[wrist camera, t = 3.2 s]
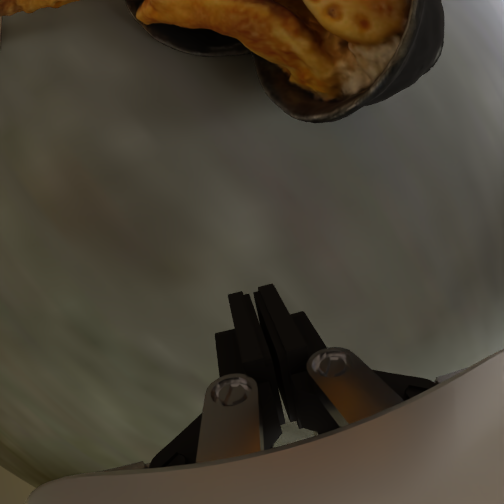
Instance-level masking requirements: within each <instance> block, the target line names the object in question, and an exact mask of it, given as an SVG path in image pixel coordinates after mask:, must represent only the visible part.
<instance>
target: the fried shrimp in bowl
mask: <svg viewBox="0 0 504 504" xmlns="http://www.w3.org/2000/svg"><path fill="white" fill-rule="evenodd" d="M75 1H79V0H0V17H1V16H11V15H13V14H15V13H17V12H21V11H24V12H26V13H33V12H35V11H36V10H38V9H40V8H46V7H52V8H59V7H61V6H63V5H65V4H68V3H70V2H75ZM125 1H126V4H127V7H128V10H129V11H130V13H131V14H132V16H133V17H134V19H135V20H136V21H137V22H138V23H139V24H140V25H141V26H143V28H144V29H145V30H146V31H147V32H148V33H149V34H150V35H151V36H152V37H153V38H155V39H156V40H158V41H160V42H161V43H163V44H165V45H168V46H169V47H171V48H173V49H177V50H179V51H182V52H186V53H190V54H195V55H201V56H222V55H239V54H245V53H252V56H253V59H254V63H255V67H256V71H257V75H258V78H259V80H260V83H261V85H262V87H263V89H264V91H265V93H266V94H267V95H268V97H269V98H270V99H271V100H272V101H273V102H274V103H275V104H276V105H277V106H278V107H280V108H281V109H282V110H283V111H284V112H285V113H287V114H288V115H290V116H291V117H293V118H295V119H298V120H301V121H305V122H312V123H323V122H333V121H337V120H340V119H342V118H344V117H347V116H348V115H350V114H352V113H353V112H355V111H357V110H358V109H360V108H361V107H363V106H368V105H372V104H375V103H378V102H381V101H383V100H386V99H388V98H389V97H391V96H392V95H394V94H396V93H398V92H400V91H401V90H403V89H405V88H407V87H409V86H411V85H412V84H414V83H415V82H416V81H417V80H418V79H419V78H420V77H421V76H422V75H424V74H425V73H427V72H428V71H429V70H430V68H431V67H433V66H434V65H435V63H436V62H437V60H438V58H439V56H440V55H441V51H442V47H443V43H444V41H443V39H444V11H443V6H442V3H441V0H125Z"/></svg>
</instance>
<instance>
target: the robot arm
mask: <svg viewBox="0 0 504 504" xmlns="http://www.w3.org/2000/svg"><path fill="white" fill-rule="evenodd" d="M253 293H254V298H255V303H256V308H257V312H258V317H259V321H258V318H257V315H256V312H255V309H254V306H253V304H252V301H251V298H250V295H249V294H245V295H243V292H242V291H241V292H237V293H233V294H229V295H228V299H229V303H230V308H231V313H232V318H233V322H234V327H235V329H232V330H228V331H223V332H219V333H215V340H216V349H217V358H218V366H219V375H220V378H218V379H216V380H215V381H213V382H212V383H211V384H210V385H209V387H208V388H207V390H206V393H205V398H204V405H203V412H202V414H200V415H199V416H198V417H197V418H196V419H195V420H194V421H193V422H192V423H191V424H190V425H189V426H188V427H187V428H186V429H184V430H183V431H182V432H181V433H180V434H179V435H178V436H177V437H176V438H175V439H173V440H172V441H171V442H170V443H169V444H168V445H167V446H166V447H164V448H163V449H162V450H161V451H160V452H159V453H158V454H157V455H156V456H155V457H154V458H153V459H152V461H151V463H147V464H145V463H144V462H143V461H141V462H137V463H133V464H129V465H125V466H121V467H117V468H112V469H108V470H103V471H98V472H92V473H82V474H77V475H71V476H66V477H62V478H59V479H56V480H52V481H49V482H47V483H45V484H42V485H41V486H39V487H37V488H36V489H35V490H34V491H32V492H31V494H30V495H29V496H28V498H27V500H26V501H25V503H24V504H504V349H502V350H500V351H498V352H496V353H494V354H492V355H490V356H488V357H486V358H485V359H483V360H481V361H479V362H478V363H476V364H474V365H472V366H470V367H467V368H464V369H461V370H458V371H455V372H452V373H449V374H446V375H443V376H439V377H436V380H435V381H434V382H432V381H431V380H428V379H424V378H418V377H412V376H405V375H399V374H393V373H387V372H382V371H376V370H371V369H370V368H369V367H368V366H367V365H366V364H365V363H364V362H363V361H362V360H361V359H360V358H359V357H357V356H356V355H355V354H354V353H353V352H351V351H350V350H348V349H345V348H341V347H330V348H327V347H326V346H325V344H324V342H323V341H322V339H321V338H320V336H319V335H318V333H317V331H316V330H315V328H314V327H313V325H312V324H311V322H310V320H309V319H308V317H307V316H306V314H305V313H304V312H303V311H301V312H298V313H294V314H289V312H288V310H287V308H286V307H285V305H284V303H283V301H282V299H281V297H280V296H279V294H278V292H277V290H276V288H275V287H274V285H273V284H269V285H265V286H261V287H258V291H257V292H253ZM259 322H260V323H259ZM278 389H279V390H278ZM279 392H280V394H281V397H282V400H283V403H284V406H285V409H286V411H287V414H288V417H289V420H290V422H293V421H297V424H298V426H299V429H302V428H306V429H309V430H312V431H314V435H315V436H314V437H310V438H307V439H304V440H301V441H297V442H294V443H290V444H287V445H283V446H279V447H275V448H274V445H273V444H274V443H275V442H276V440H277V439H278V438H279V436H280V435H281V434H282V430H281V426H280V425H282V424H285V419H284V414H283V409H282V405H281V400H280V395H279Z"/></svg>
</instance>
